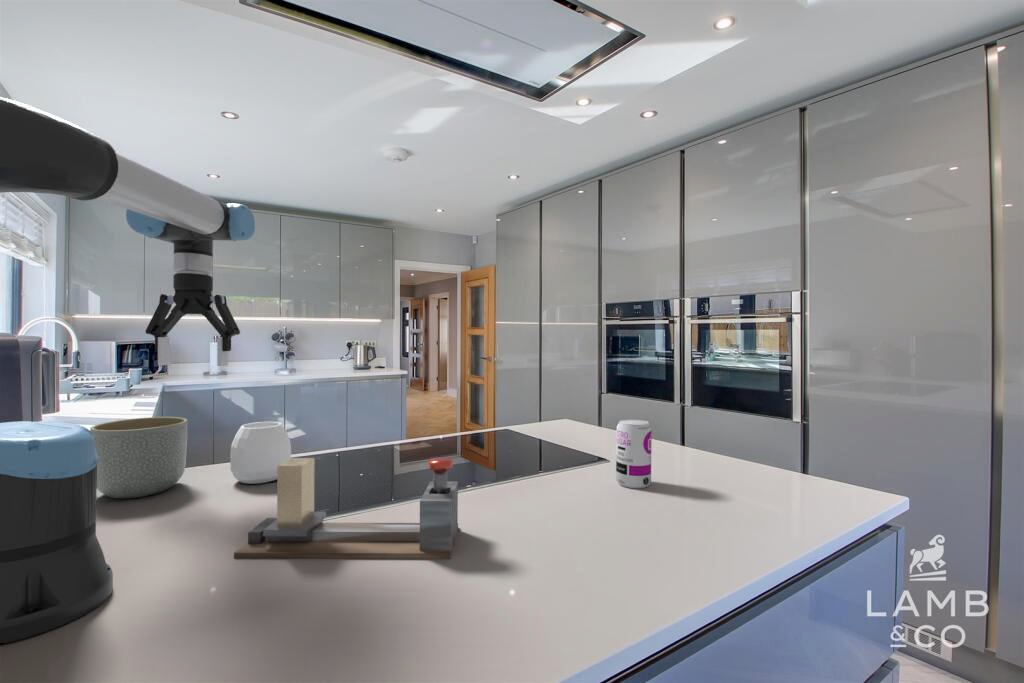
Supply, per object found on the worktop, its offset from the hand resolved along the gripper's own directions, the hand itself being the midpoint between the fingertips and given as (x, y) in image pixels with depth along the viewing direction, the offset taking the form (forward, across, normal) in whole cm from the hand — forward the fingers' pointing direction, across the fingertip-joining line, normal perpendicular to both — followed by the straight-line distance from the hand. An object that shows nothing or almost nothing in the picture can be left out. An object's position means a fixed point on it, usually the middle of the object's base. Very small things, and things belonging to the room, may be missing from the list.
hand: (193, 365), depth 107 cm
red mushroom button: (+21, -62, +29) cm, 72 cm away
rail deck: (+28, -47, +29) cm, 62 cm away
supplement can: (+28, -104, -3) cm, 108 cm away
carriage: (+27, -37, +29) cm, 54 cm away
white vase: (+28, -13, -5) cm, 32 cm away
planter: (+28, +9, +4) cm, 30 cm away
